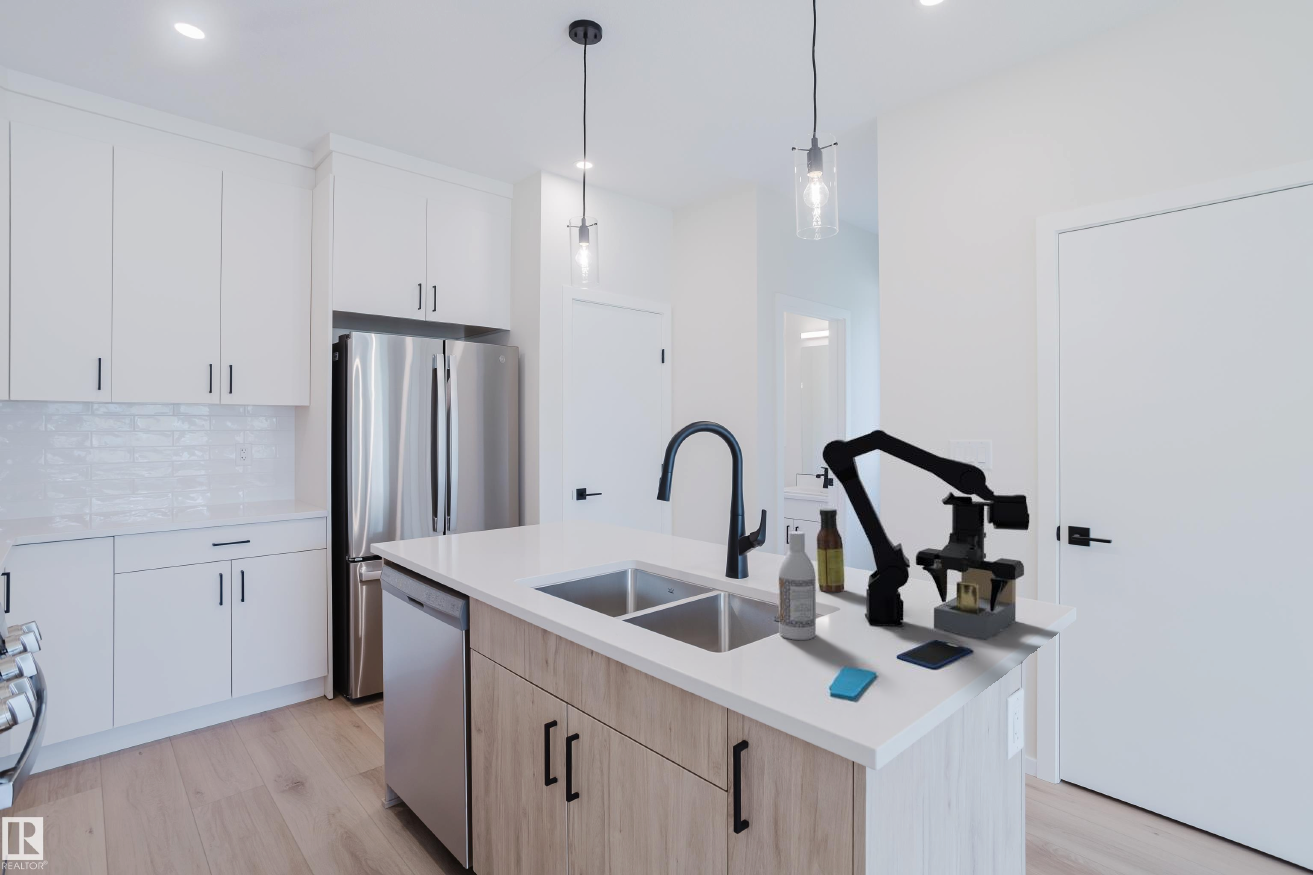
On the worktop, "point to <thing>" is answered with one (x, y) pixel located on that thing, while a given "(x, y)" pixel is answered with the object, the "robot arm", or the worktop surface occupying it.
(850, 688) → the sponge
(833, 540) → the sauce bottle
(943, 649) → the cell phone
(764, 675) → the worktop surface
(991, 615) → the socket block
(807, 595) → the bath foam
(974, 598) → the peg
